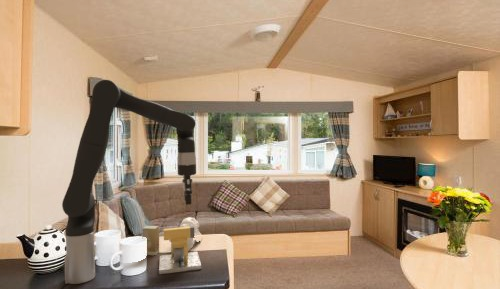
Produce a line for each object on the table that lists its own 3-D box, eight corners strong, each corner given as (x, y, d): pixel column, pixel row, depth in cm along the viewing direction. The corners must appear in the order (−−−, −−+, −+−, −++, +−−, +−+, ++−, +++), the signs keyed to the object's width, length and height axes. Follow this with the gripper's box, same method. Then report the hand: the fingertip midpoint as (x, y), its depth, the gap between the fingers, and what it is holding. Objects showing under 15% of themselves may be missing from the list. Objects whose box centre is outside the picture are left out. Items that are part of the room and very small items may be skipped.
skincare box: (142, 255, 139) (141, 228, 139) (147, 251, 143) (146, 225, 143) (155, 255, 138) (155, 228, 138) (160, 252, 142) (159, 225, 142)
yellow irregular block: (164, 249, 123) (163, 231, 123) (164, 244, 129) (163, 227, 129) (195, 246, 126) (194, 228, 126) (193, 241, 133) (193, 224, 132)
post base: (159, 274, 118) (158, 249, 118) (160, 259, 134) (159, 237, 134) (201, 268, 122) (200, 245, 122) (197, 254, 138) (196, 233, 138)
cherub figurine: (164, 228, 143) (178, 214, 163) (167, 254, 144) (180, 236, 164) (192, 228, 142) (202, 213, 162) (194, 254, 143) (204, 236, 163)
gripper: (177, 162, 134) (178, 199, 135) (178, 165, 121) (179, 206, 121) (194, 161, 136) (195, 198, 137) (197, 164, 123) (198, 205, 123)
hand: (187, 202), depth 129 cm, fingers open, 8 cm apart
